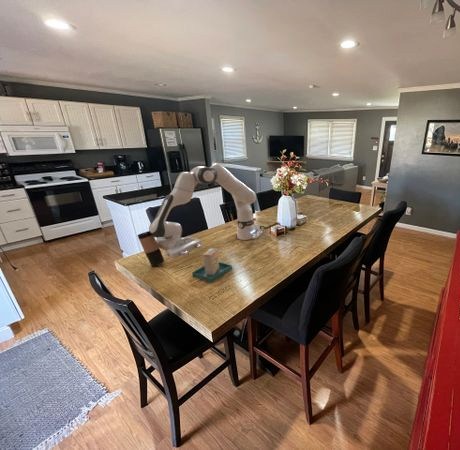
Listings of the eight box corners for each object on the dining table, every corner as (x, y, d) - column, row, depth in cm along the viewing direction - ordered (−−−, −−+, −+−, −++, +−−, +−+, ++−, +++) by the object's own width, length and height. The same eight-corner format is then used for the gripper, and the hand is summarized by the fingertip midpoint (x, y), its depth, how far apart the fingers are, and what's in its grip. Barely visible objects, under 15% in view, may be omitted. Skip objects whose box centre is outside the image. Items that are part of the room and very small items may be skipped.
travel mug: (149, 265, 145) (135, 235, 140) (162, 260, 150) (149, 230, 145) (152, 267, 139) (138, 235, 135) (166, 261, 144) (153, 230, 140)
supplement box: (213, 276, 133) (211, 254, 128) (205, 275, 133) (202, 254, 129) (219, 268, 141) (217, 248, 136) (212, 267, 141) (209, 247, 137)
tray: (213, 263, 147) (213, 260, 146) (232, 268, 141) (231, 265, 140) (192, 276, 133) (192, 272, 132) (211, 282, 128) (211, 278, 127)
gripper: (161, 248, 134) (178, 253, 129) (190, 235, 152) (207, 239, 146) (163, 258, 136) (180, 263, 131) (192, 244, 154) (208, 248, 148)
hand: (194, 250), depth 139 cm, fingers open, 8 cm apart
